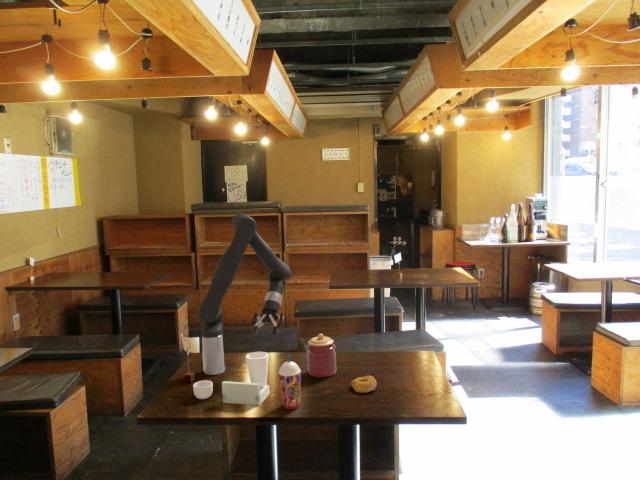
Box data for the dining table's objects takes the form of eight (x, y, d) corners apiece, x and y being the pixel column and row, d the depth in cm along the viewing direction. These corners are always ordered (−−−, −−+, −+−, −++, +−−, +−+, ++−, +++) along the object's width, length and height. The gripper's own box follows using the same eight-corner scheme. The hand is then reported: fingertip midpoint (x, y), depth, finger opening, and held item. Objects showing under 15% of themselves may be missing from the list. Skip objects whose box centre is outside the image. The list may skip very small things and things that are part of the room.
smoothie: (299, 411, 179) (296, 358, 177) (277, 410, 181) (274, 358, 179) (304, 401, 187) (302, 351, 185) (283, 400, 189) (281, 350, 187)
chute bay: (234, 391, 200) (233, 372, 200) (269, 393, 197) (268, 374, 196) (223, 402, 190) (221, 382, 189) (259, 405, 186) (258, 385, 185)
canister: (337, 377, 210) (335, 337, 209) (307, 378, 211) (305, 338, 209) (336, 366, 223) (334, 329, 222) (308, 367, 224) (306, 330, 222)
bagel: (361, 381, 205) (360, 370, 205) (382, 388, 197) (381, 377, 197) (345, 389, 198) (345, 377, 198) (366, 396, 191) (366, 384, 190)
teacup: (212, 400, 193) (211, 387, 192) (192, 401, 192) (191, 388, 191) (215, 390, 203) (214, 377, 202) (196, 391, 202) (195, 379, 201)
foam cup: (273, 381, 209) (272, 352, 207) (264, 390, 200) (262, 359, 199) (253, 380, 212) (252, 351, 210) (243, 388, 203) (241, 358, 202)
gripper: (255, 299, 222) (246, 330, 212) (284, 299, 218) (276, 332, 208) (260, 307, 227) (252, 339, 218) (289, 308, 223) (281, 340, 213)
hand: (264, 335), depth 213 cm, fingers open, 8 cm apart
